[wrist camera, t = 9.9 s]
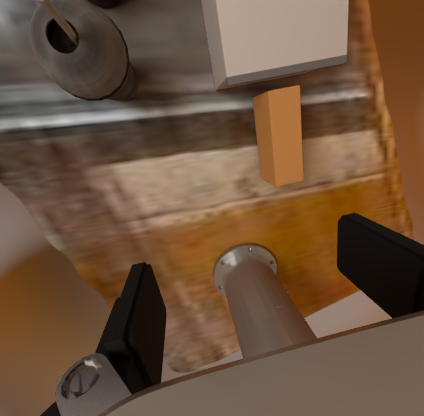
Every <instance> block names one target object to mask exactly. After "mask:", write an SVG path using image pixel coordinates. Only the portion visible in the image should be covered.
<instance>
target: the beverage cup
mask: <svg viewBox="0 0 424 416" xmlns="http://www.w3.org/2000/svg"><path fill="white" fill-rule="evenodd" d="M39 2H40V3H41V4H40V5H39V6H38V7H37V8H36V9H35V11H34V13H33V16H32V19H31V21H30V40H31V43H32V47H33V51H34V54H35V56H36V57H37V59H38V61H39V63H40V65H41V66H42V68H43V70H44V71H45V72H46V73H47V74H48V75H49V76H50V77H51V78H52V79H53V81H54V82H55V83H57V84H58V85H59V86H60V87H61V88H62V89H64V90H65V91H67V92H68V93H70V94H72V95H73V96H75V97H78V98H81V99H85V100H88V101H92V100H103V99H110V100H117V101H121V100H128V99H130V98H132V97H133V96H134V94H135V93H136V91H137V79H136V75H135V73H134V71H133V68H132V66H131V64H130V62H129V55H128V48H127V45H126V43H125V40H124V38H123V36H122V33H121V31H120V30H119V29H118V28H117V26H116V25H115V24H114V22H113V21H112V20H111V19H110V18H109V17H108V16H107V15H105V14H104V13H103V12H102V11H100V10H99V9H98V8H96V7H95V6H93V5H92V4H91V3H89V2H86V1H84V0H39Z"/></svg>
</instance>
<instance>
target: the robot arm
mask: <svg viewBox="0 0 424 416" xmlns="http://www.w3.org/2000/svg"><path fill="white" fill-rule="evenodd" d="M337 267H338V269H339V271H340V272H341V273H342V274H343V275H345V276H346V277H347V278H348V279H349V280H350V281H351V282H352V283H354V284H355V285H356V286H357V287H358V288H359V289H360V290H361V291H363V292H364V293H365V294H366V295H367V296H368V297H369V298H370V299H372V300H373V301H374V302H375V303H376V304H377V305H378V306H379V307H381V308H382V309H383V310H384V311H385V312H386V313H387V314H389V315H390V316H391V317H392V319H389V320H385V321H381V322H378V323H373V324H370V325H366V326H362V327H358V328H354V329H351V330H347V331H343V332H340V333H336V334H332V335H329V336H325V337H321V338H317V337H316V336H315V334H314V333H313V331H312V330H311V329H310V327H309V325H308V324H307V322H306V321H305V319H304V318H303V316H302V314H301V313H300V311H299V310H298V308H297V307H296V305H295V304H294V302H293V301H292V299H291V298H290V296H289V295H288V293H287V290H286V289H285V288H284V287H283V285H282V284H281V282H280V281H279V279H278V278H277V276H276V275H277V264H276V260H275V259H274V257H273V255H272V254H271V253H270V252H269V251H268V250H267V249H266V248H264V247H262V246H260V245H257V244H241V245H237V246H235V247H232V248H231V249H229V250H227V251H226V252H225V253H224V254H222V255H221V257H220V258H219V259H218V261H217V262H216V264H215V267H214V270H213V278H214V283H215V286H216V288H217V290H218V291H219V292H220V293H221V294H222V295H223V296H225V297H226V298H227V300H228V304H229V308H230V312H231V315H232V319H233V323H234V326H235V330H236V334H237V337H238V341H239V345H240V348H241V352H242V356H243V359H240V360H237V361H233V362H230V363H226V364H223V365H219V366H215V367H212V368H208V369H205V370H201V371H198V372H195V373H191V374H188V375H185V376H181V377H178V378H174V379H171V380H169V381H165V382H163V383H161V375H162V363H163V351H164V339H165V327H166V308H165V305H164V302H163V299H162V296H161V293H160V290H159V287H158V284H157V281H156V279H155V276H154V273H153V270H152V267H151V265H150V264H148V265H147V264H146V263H145V262H143V263H139V264H134V265H132V267H131V270H130V272H129V275H128V278H127V280H126V283H125V286H124V289H123V291H122V294H121V297H120V298H117V299H116V301H115V303H114V306H113V308H112V311H111V313H110V316H109V319H108V321H107V324H106V326H105V329H104V331H103V334H102V337H101V339H100V342H99V344H98V347H97V350H96V352H95V354H90V355H88V356H85V357H83V358H81V359H80V360H79V361H77V362H76V363H75V364H73V365H72V366H71V367H70V368H69V369H68V370H67V371H66V373H65V374H64V375H63V376H62V378H61V380H60V381H59V383H58V385H57V388H56V392H55V399H56V402H55V403H53V404H52V405H51V406H50V407H49V408H48V409H47V410H46V411H45V412H44V413H43V414H41V415H40V416H424V245H422V244H420V243H418V242H416V241H414V240H412V239H410V238H408V237H405V236H403V235H401V234H399V233H397V232H395V231H393V230H391V229H388V228H386V227H384V226H382V225H380V224H378V223H376V222H374V221H372V220H369V219H367V218H365V217H363V216H361V215H359V214H357V213H351V214H347V215H343V216H341V218H340V219H339V221H338V241H337Z"/></svg>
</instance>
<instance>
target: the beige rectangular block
mask: <svg viewBox="0 0 424 416" xmlns="http://www.w3.org/2000/svg"><path fill="white" fill-rule="evenodd" d="M348 1H349V0H201V3H202V9H203V15H204V21H205V27H206V34H207V40H208V46H209V52H210V58H211V65H212V71H213V77H214V83H215V89H216V90H221V89H226V88H231V87H236V86H241V85H247V84H252V83H257V82H262V81H267V80H273V79H278V78H283V77H288V76H293V75H299V74H304V73H308V72H310V71H312V70H317V69H322V68H327V67H333V66H338V65H342V64H345V63H347V34H348Z"/></svg>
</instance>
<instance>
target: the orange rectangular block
mask: <svg viewBox="0 0 424 416" xmlns="http://www.w3.org/2000/svg"><path fill="white" fill-rule="evenodd" d="M253 106H254V116H255V125H256V134H257V143H258V153H259V162H260V171H261V178H262V179H264V180H266V181H267V182H269V183H271V184H272V185H274V186H276V187H277V186H281V185H286V184H290V183H295V182H299V181H303V158H302V131H301V105H300V85H296V86H291V87H286V88H281V89H276V90H271V91H267V92H265V93H263V94H260V95H258V96H256V97H254V98H253Z"/></svg>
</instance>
